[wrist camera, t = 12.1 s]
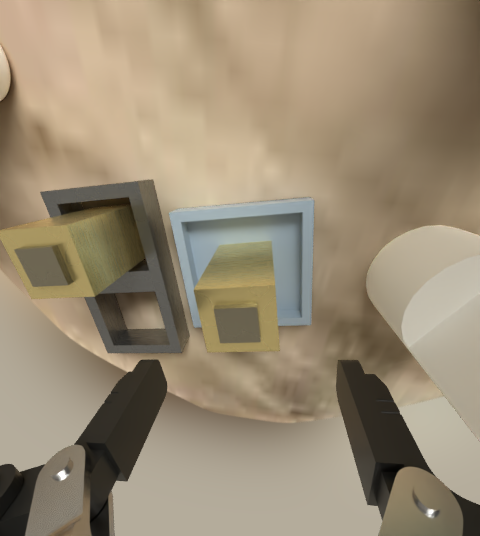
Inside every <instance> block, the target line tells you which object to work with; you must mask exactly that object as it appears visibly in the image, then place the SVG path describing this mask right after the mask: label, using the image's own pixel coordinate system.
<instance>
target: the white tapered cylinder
mask: <svg viewBox="0 0 480 536" xmlns="http://www.w3.org/2000/svg"><path fill="white" fill-rule="evenodd" d="M10 81H11V76H10V68H9V64H8V60H7V57H6V55H5V52H4V50H3V48H2V46H1V45H0V101H1V100H3V99H4V98H5V96H6V95H7V93H8V91H9V88H10Z"/></svg>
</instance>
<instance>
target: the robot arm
mask: <svg viewBox="0 0 480 536" xmlns="http://www.w3.org/2000/svg"><path fill="white" fill-rule="evenodd" d="M336 391H337V397H338V402H339V406H340V409H341V413H342V416H343V420H344V423H345V427H346V430H347V434H348V437H349V441H350V444H351V448H352V452H353V455H354V458H355V462H356V466H357V469H358V473H359V476H360V480H361V483H362V487H363V490H364V494H365V497H366V501H367V504H368V505H374V506H378V508H379V511H380V514H381V517H382V525H381V528H380V531H379V534H378V536H480V505H478V504H476V503H473V502H471V501H469V500H466V499H464V498H462V497H461V496H459V495H457V494H456V493H454V492H453V491H451V490H450V489H449V488H447V487H446V486H445V485H444V483H442V482H441V481H440V480H439V479H438V478H437V477H436V476H435V475H434V474H433V472H432V471H431V470H430V468H429V467H428V465H427V463H426V462H425V460H424V458H423V456H422V454H421V452H420V450H419V448H418V446H417V444H416V442H415V440H414V438H413V436H412V435H411V433H410V431H409V429H408V427H407V425H406V423H405V421H404V419H403V417H402V415H400V411H399V409H398V407H397V406H396V404H395V403H394V400H393V398H392V396H391V394H390V392H389V390H388V388H387V386H386V385H385V384H384V383H383V382H382V381H381V380H380V379H379V378H378V377H377V376H376V375H375V374H365V373H364V371H363V369H362V367H361V364H360V362H359V361H358V360H338V364H337V381H336ZM166 392H167V381H166V379H165V376H164V373H163V370H162V367H161V364H160V362H159V360H141V361H139V362H138V364H137V365H136V367H135V368H134V370H133V371H132V372H128V373H127V374H126V375H125V376H124V377H123V378H122V379H120V381H118V383H117V384H116V386H115V387H114V388H113V390H112V391H111V394H109V396H108V397H107V399H106V400H105V403H104V404H103V405H102V406H101V407H100V409H99V410H98V411H97V413H96V414H95V416H94V417H93V419H92V420H91V422H90V423H89V424H88V426H87V427H86V429H85V430H84V432H83V433H82V435H81V436H80V437H79V439H78V440H77V442H76V443H75V444H74V445H71V446H69V447H66V448H64V449H62V450H61V451H59V452H58V453H56V454H55V455H54V456H53V457H52V458H51V459H50V460H49V461H48V462H47V463H46V464H45V465H41V466H38V467H35V468H31V469H28V470H25V471H22V472H19V471H18V470H17V469H16V468H15V467H14V465H12V464H5V465H1V466H0V536H115V533H114V512H113V495H112V491H111V490H112V488H113V486H114V483H115V482H116V481H128V479H129V476H130V474H131V472H132V470H133V467H134V465H135V463H136V461H137V459H138V456H139V454H140V452H141V449H142V447H143V445H144V443H145V441H146V439H147V436H148V434H149V432H150V429H151V427H152V425H153V423H154V421H155V418H156V416H157V414H158V412H159V410H160V407H161V405H162V403H163V401H164V398H165V396H166Z"/></svg>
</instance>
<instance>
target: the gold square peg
mask: <svg viewBox="0 0 480 536" xmlns="http://www.w3.org/2000/svg"><path fill="white" fill-rule="evenodd" d="M194 295H195V299H196V304H197V308H198V312H199V317H200V321H201V326H202V330H203V335H204V339H205V344H206V348H207V352H256V351H280V348H279V333H278V318H277V303H276V288H275V276H274V264H273V252H272V241H260V242H248V243H236V244H225V245H219V246H218V248H217V250H216V252H215V253H214V255H213V257H212V259H211V260H210V262H209V264H208V266H207V267H206V269H205V271H204V272H203V274H202V276H201V278H200V279H199V281H198V283H197V285H196V286H195V288H194Z"/></svg>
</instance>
